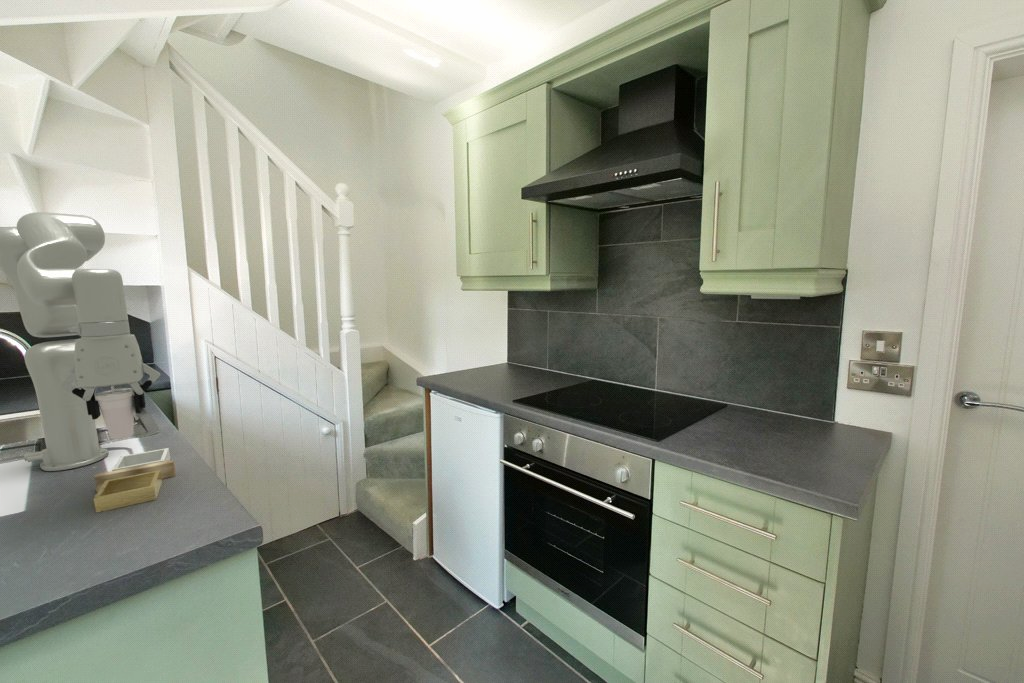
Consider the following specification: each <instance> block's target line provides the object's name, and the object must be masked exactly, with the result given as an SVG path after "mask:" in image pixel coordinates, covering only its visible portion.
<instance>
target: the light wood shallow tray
mask: <svg viewBox="0 0 1024 683" xmlns="http://www.w3.org/2000/svg"><path fill="white" fill-rule="evenodd" d="M162 483H163V479H162V478H161V471H160V470H158V471H153V472H148V473H142V474H137V475H132V476H127V477H122V478H117V479H111V480H106V481H105V482H104V483H103V485H102V486H101V488H100V490H99V491H98V492H96V494H95V496H94V497H93V505H94V508H95V513H96V514H98V513H102V512H106V511H111V510H115V509H119V508H125V507H128V506H133V505H139V504H141V503H145V502H152V501H155V500H157V498H158V495H159V492H160V489H161V487H162Z"/></svg>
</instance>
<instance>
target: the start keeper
mask: <svg viewBox="0 0 1024 683" xmlns="http://www.w3.org/2000/svg"><path fill="white" fill-rule="evenodd" d="M169 460H171V454H170V448H169V447H166V448H161V449H154V450H149V451H143V452H137V453H131V454H125V455H121V456H120V457H119V458H118V460H117V461H116V463H115V464H114V466H113V467H112V469H111V471H115V470H120V469H126V468H131V467H137V466H142V465H147V464H153V463H158V462H163V461H169Z"/></svg>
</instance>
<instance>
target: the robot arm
mask: <svg viewBox="0 0 1024 683" xmlns="http://www.w3.org/2000/svg"><path fill="white" fill-rule="evenodd" d="M105 243H106V236H105V231H104V229H103V227H102V225H101V224H100V223H99V222H98V221H97V220H96V219H95V218H93V217H91V216H87V215H82V214H71V213H70V214H69V213H59V212H48V211H47V212H45V211H44V212H43V211H41V212H39V211H37V212H29V213H27V214H24V215H22V216H21V217H20V218H19V219H18V221H17V222H16V226H4V227H0V270H1V271H2V273H3V274H4V275H5V277H6V278H7V279H8V281H9V282H10V284H11V285H12V287H13V288H12V289H13V290H14V295H15V297H16V302H17V307H18V309H19V312H20V316H21V319H22V322H23V326H24V328H25V330H26V332H27V333H28V334H29V335H31V336H32V337H36V338H57V337H60V338H61V337H68V336H69V337H70V336H79V338H73V339H63V340H62V339H61V340H51V341H44V342H41V343H37V344H34V345H32V346H30V347H29V348H27V349H26V351H25V353H24V357H23V358H24V363H25V366H26V369H27V372H28V374H29V375H30V378H31V381H32V383H33V387H34V390H35V394H36V398H37V404H38V409H39V414H40V419H41V426H42V431H43V437H44V443H45V446H46V448H45V449H42V450H40V451H32V452H26V453H24V454H23V459H24V461H25V462H27V463H30V462H33V463H34V462H37V461H41V463H40V469H41V470H43V471H46V472H57V471H59V472H60V471H65V470H71V469H75V468H81V467H84V466H87V465H91V464H94V463H96V462H99V461H100V460H103V459H105V458H107V457H108V455H109V451H108V449H107V448H105V447H100V444H99V438H98V431H97V425H96V420H97V419H99V417H101V415H102V412H101V410H100V407H99V404H98V401H97V400H95V395H96V391H97V389H98V388H105V387H111V386H114V387H115V386H124V385H129V386H130V387H131V389H134V391H135V395H134V409H135V410H134V411H135V414H141V413H142V412H143V409H145V408H146V407H147V406H146V399H145V392H146V391H147V390H148V389H149V388H150V387H151V386H152V385H153V383H154V382H156V381H157V380H158V379H159V378H160V376H161V373H160V372H159V371H157V370H156V369H154V368H152V367H151V366H149V365H147V364H146V363H144V361H143V357H142V354H141V349H140V346H139V343H138V341H137V340H138V339H137V337H136V335H135V334H131V330H130V323H129V317H128V316H129V315H128V309H127V303H126V295H125V290H124V289H125V288H124V281H123V277H122V274H121V273H120V272H119V271H118V270H116V269H110V268H109V269H108V268H107V269H106V268H81V267H82V266H83V265H84V264H85V263H86V262H88V261H90V260H91V259H92V258H93V257H94V256H96V255H97V254H98V253H99V252H100V251H102V249H103V248H104V245H105ZM145 374H147V375H149V378H147V380H145V382H143V383H142V382H141V380H142V379H143V378H144V377H145Z"/></svg>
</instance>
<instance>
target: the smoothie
mask: <svg viewBox="0 0 1024 683" xmlns="http://www.w3.org/2000/svg"><path fill="white" fill-rule="evenodd" d="M134 395H135V391H134V389H133V388H132V387H131V388H129V387H128V388H127V387H126V388H116V389H115V386H110V390H104V391H100V392H97V393H95V400H97V401H98V404H99V407H100V413H101V415H102V418H103V420H104V424H105V426H106V430H107V432H108V435H109V438H110V440H122V439H125V438H129V437H132V436H134V416H135V414H134V413H135V410H134V409H135V403H134Z"/></svg>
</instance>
